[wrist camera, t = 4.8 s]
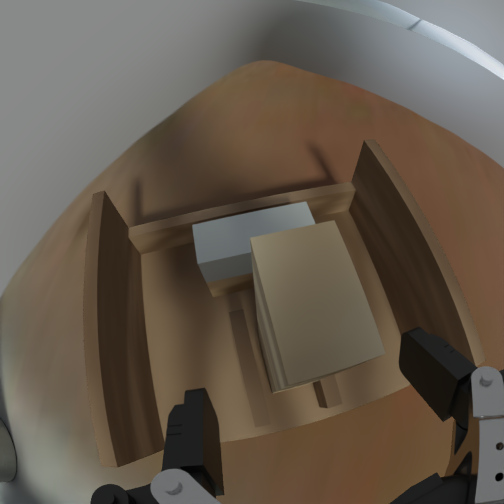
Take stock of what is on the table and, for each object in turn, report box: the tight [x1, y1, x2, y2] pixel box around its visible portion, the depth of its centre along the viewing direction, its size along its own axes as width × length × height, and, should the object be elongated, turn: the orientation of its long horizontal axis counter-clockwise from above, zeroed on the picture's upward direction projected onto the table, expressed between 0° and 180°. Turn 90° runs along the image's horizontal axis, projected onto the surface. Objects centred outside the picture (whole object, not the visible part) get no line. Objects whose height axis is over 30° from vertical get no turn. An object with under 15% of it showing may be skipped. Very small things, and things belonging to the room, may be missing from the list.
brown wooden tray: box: [83, 139, 486, 467], centre depth 19 cm, size 22×18×9 cm
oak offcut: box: [207, 273, 254, 297], centre depth 23 cm, size 8×3×3 cm, turn 103°
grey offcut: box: [192, 202, 315, 283], centre depth 20 cm, size 8×3×3 cm, turn 103°
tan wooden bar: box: [250, 220, 385, 394], centre depth 14 cm, size 2×4×15 cm, turn 13°
